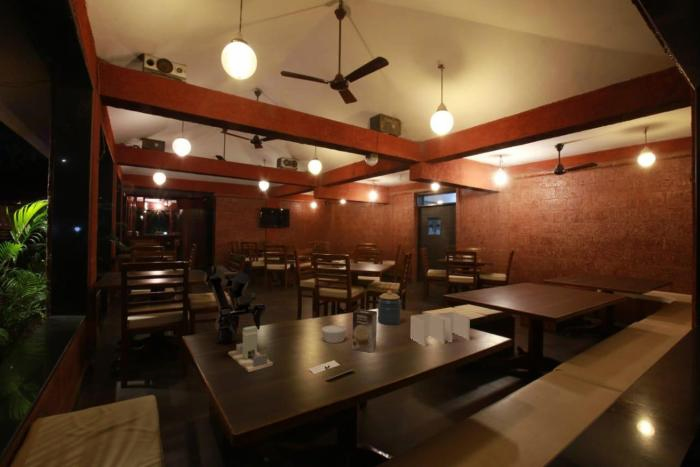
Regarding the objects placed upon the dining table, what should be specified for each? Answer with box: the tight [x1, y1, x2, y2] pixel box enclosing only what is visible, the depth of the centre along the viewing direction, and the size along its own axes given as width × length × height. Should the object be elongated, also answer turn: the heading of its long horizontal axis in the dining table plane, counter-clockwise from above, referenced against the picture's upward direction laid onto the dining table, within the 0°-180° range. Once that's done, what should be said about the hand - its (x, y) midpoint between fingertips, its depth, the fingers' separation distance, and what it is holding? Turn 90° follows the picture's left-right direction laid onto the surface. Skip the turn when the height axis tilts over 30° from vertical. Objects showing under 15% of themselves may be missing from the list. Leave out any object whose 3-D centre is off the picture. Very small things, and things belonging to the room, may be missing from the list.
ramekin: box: [321, 324, 347, 344], centre depth 146 cm, size 11×11×5 cm
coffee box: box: [351, 308, 378, 354], centre depth 135 cm, size 9×6×16 cm
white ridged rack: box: [235, 342, 268, 367], centre depth 121 cm, size 18×5×3 cm, turn 40°
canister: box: [377, 290, 402, 326], centre depth 176 cm, size 13×13×18 cm
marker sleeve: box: [242, 325, 258, 359], centre depth 122 cm, size 3×4×11 cm
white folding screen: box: [410, 311, 471, 347], centre depth 148 cm, size 25×11×11 cm, turn 111°
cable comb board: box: [228, 349, 274, 373], centre depth 122 cm, size 20×9×1 cm, turn 40°
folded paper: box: [308, 360, 355, 381], centre depth 112 cm, size 12×12×2 cm
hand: (247, 331), depth 124 cm, fingers open, 9 cm apart
